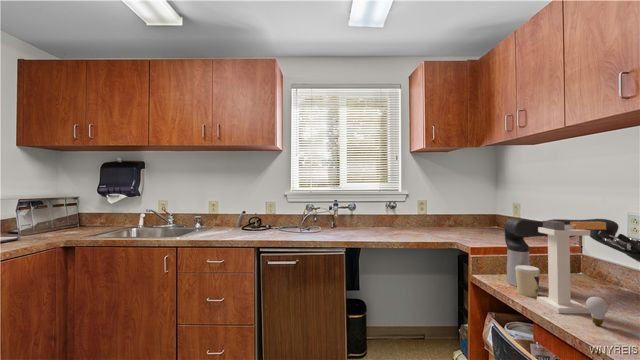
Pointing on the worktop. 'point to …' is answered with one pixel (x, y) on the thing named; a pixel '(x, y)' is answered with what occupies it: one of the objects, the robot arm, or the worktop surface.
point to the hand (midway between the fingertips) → (608, 234)
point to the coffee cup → (527, 280)
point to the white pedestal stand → (561, 271)
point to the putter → (573, 225)
